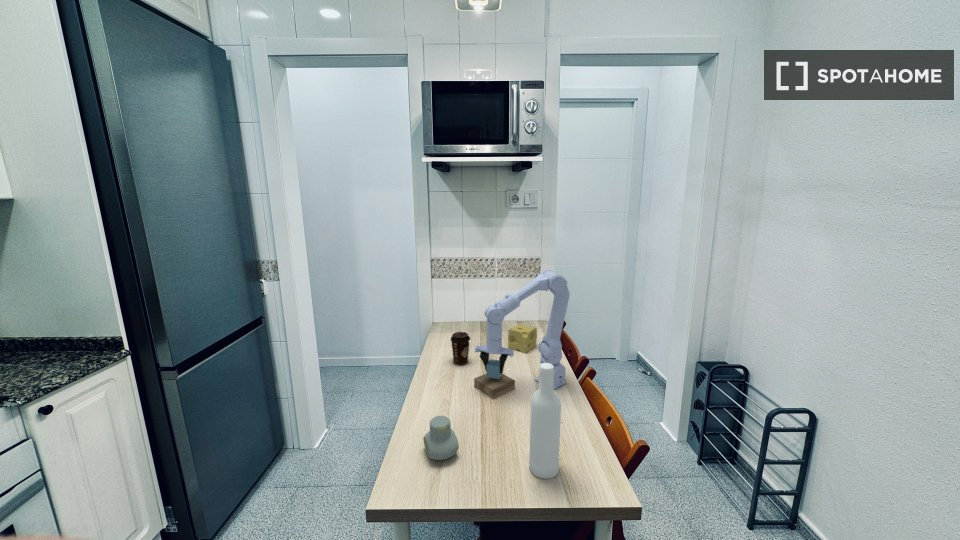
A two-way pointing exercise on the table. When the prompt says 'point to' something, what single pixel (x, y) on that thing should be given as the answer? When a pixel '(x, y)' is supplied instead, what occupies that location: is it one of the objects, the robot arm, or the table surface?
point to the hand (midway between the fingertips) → (494, 371)
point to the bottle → (545, 426)
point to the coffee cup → (460, 347)
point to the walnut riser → (494, 385)
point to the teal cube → (493, 369)
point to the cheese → (522, 338)
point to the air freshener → (440, 439)
